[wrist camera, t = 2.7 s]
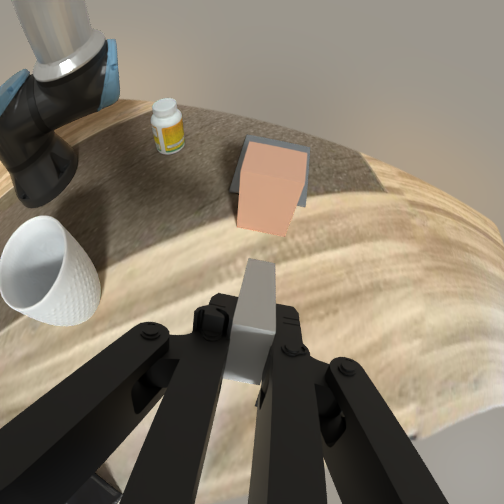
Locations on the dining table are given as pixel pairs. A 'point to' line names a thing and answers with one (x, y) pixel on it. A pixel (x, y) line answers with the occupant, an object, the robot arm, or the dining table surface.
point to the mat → (236, 178)
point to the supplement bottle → (167, 126)
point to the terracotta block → (270, 188)
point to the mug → (48, 274)
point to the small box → (95, 493)
